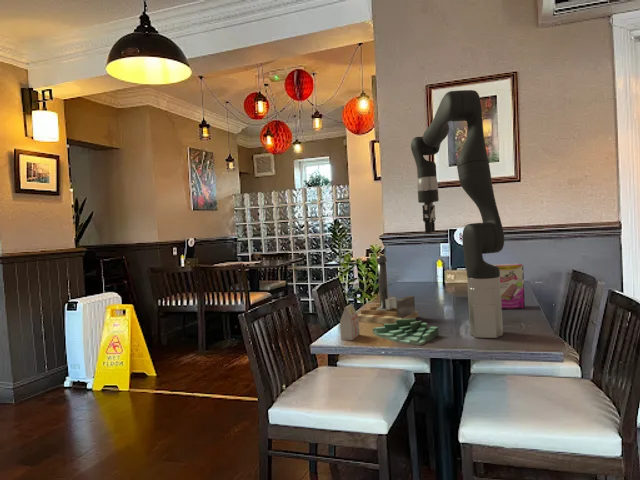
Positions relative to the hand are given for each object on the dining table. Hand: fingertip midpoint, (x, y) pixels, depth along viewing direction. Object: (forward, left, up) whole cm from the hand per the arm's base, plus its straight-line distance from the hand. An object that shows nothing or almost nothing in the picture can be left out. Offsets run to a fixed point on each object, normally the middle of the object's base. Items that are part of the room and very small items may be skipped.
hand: (430, 232), depth 177 cm
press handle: (-15, +15, -28) cm, 35 cm away
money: (-38, +4, -31) cm, 49 cm away
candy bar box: (+8, -26, -30) cm, 41 cm away
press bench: (-15, +15, -30) cm, 37 cm away
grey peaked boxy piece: (-42, +20, -30) cm, 56 cm away
